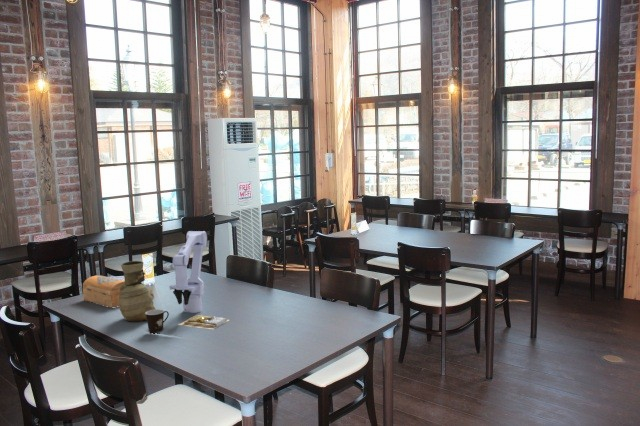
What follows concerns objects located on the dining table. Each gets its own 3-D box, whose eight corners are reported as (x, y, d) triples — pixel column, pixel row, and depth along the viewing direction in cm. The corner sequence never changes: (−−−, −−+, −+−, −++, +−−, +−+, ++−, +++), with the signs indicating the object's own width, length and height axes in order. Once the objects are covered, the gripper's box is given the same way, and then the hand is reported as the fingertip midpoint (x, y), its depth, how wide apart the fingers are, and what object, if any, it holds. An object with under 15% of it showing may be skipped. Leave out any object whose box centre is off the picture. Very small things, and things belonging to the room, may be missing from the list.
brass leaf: (187, 323, 290) (186, 318, 289) (196, 318, 297) (196, 314, 297) (199, 324, 287) (199, 320, 287) (208, 319, 294) (208, 315, 294)
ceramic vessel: (162, 311, 315) (158, 257, 311) (153, 323, 294) (148, 266, 290) (127, 312, 315) (123, 258, 311) (115, 325, 294) (110, 267, 290)
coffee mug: (148, 336, 276) (147, 315, 274) (145, 331, 283) (143, 311, 282) (173, 331, 281) (171, 311, 280) (169, 326, 289) (167, 307, 287)
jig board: (177, 326, 288) (177, 322, 288) (195, 317, 302) (195, 313, 301) (213, 331, 280) (212, 327, 279) (229, 321, 293) (229, 317, 293)
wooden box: (137, 302, 335) (135, 278, 333) (111, 309, 322) (109, 285, 320) (108, 294, 353) (107, 272, 351) (83, 300, 341) (81, 277, 339)
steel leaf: (203, 325, 286) (203, 320, 285) (213, 320, 293) (212, 315, 293) (216, 327, 283) (216, 322, 282) (225, 322, 290) (225, 317, 290)
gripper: (164, 278, 292) (166, 304, 294) (188, 281, 286) (190, 307, 288) (173, 275, 298) (175, 301, 300) (197, 277, 292) (198, 303, 294)
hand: (183, 304), depth 294 cm, fingers open, 3 cm apart
